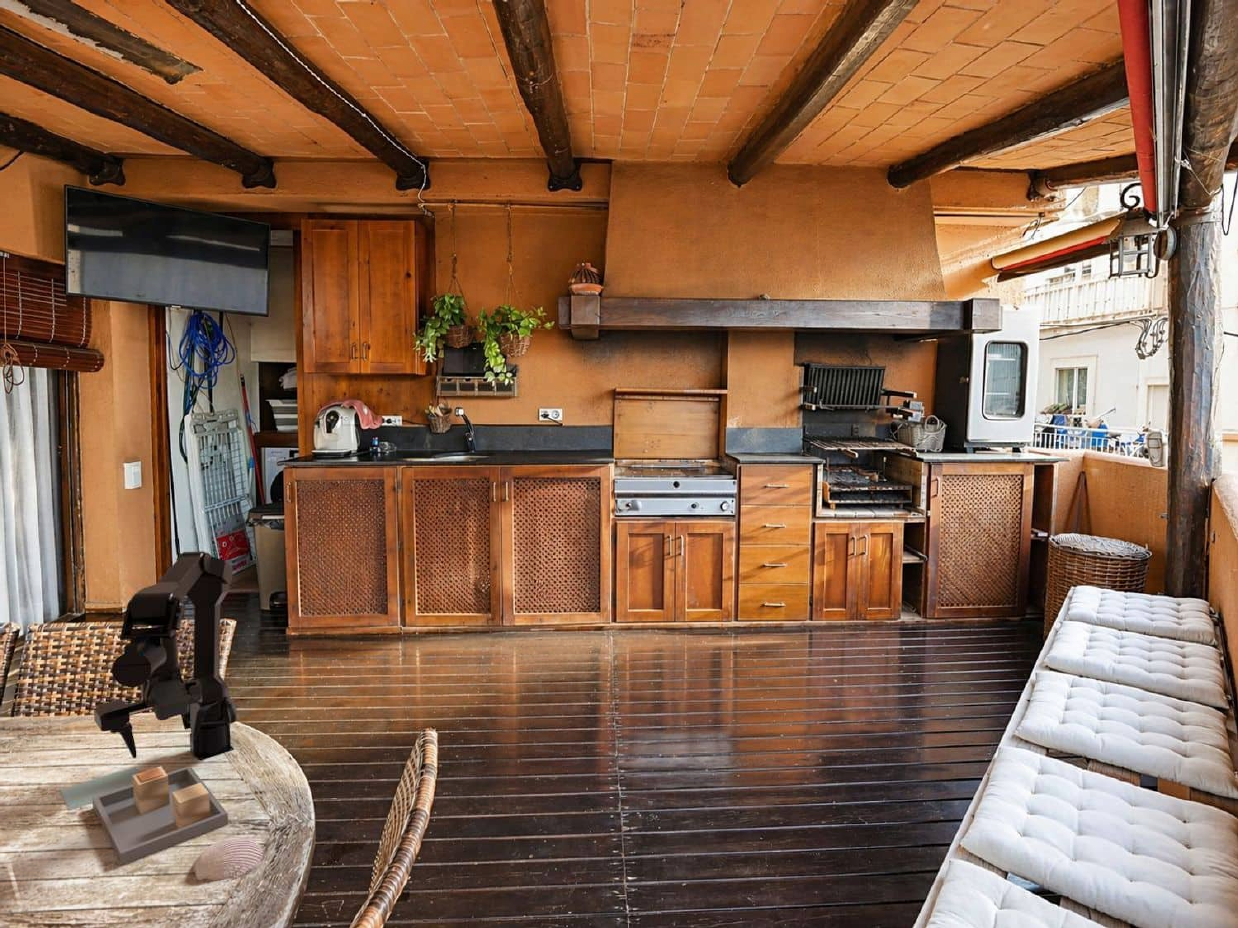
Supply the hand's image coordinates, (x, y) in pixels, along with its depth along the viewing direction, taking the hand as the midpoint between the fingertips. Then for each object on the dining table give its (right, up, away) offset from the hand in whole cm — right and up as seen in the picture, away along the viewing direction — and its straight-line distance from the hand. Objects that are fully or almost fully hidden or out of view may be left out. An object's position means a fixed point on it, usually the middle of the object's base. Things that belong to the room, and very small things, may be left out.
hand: (165, 747), depth 129 cm
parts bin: (-1, -12, 0) cm, 12 cm away
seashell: (+17, -15, -12) cm, 25 cm away
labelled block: (-4, -11, +3) cm, 13 cm away
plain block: (+6, -12, -2) cm, 14 cm away
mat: (-17, -11, +9) cm, 22 cm away
